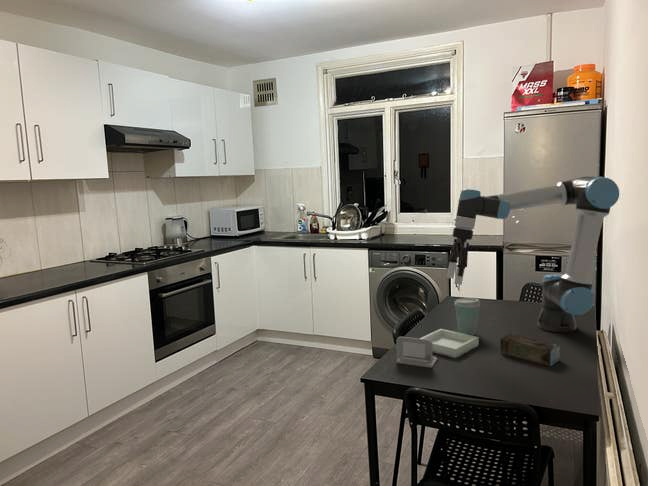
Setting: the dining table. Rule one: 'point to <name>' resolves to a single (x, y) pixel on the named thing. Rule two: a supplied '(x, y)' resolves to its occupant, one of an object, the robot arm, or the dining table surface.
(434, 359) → the handheld gaming console
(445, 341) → the sage tray
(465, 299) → the disposable coffee cup
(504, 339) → the beverage carton
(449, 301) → the dining table surface
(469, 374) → the dining table surface
